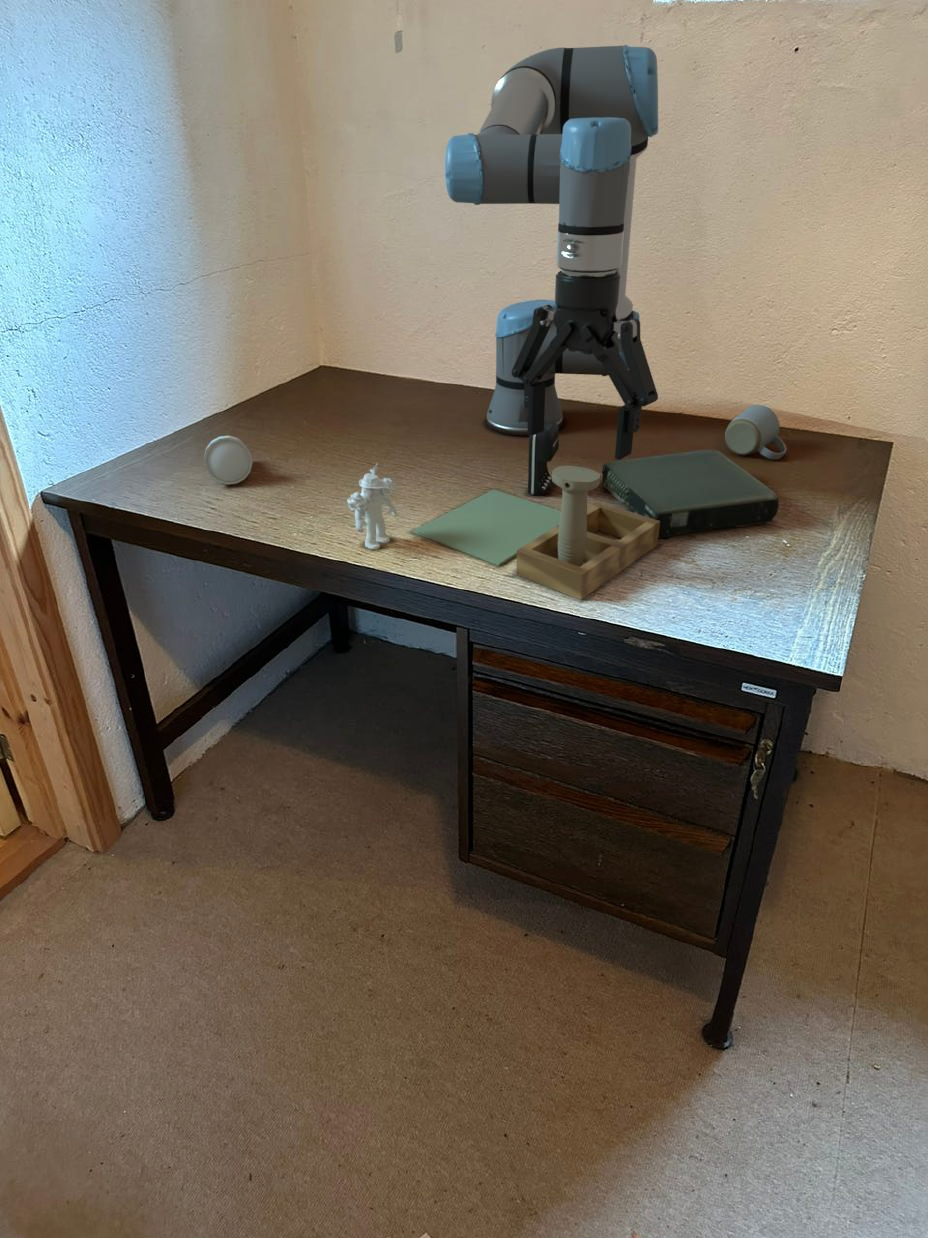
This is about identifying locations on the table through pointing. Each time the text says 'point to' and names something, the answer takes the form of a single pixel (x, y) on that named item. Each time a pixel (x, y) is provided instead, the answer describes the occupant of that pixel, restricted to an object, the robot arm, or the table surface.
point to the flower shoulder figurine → (372, 507)
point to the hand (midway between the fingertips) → (577, 444)
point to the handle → (574, 510)
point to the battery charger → (542, 458)
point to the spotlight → (228, 460)
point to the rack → (589, 551)
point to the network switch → (690, 491)
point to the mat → (492, 526)
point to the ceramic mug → (755, 433)
